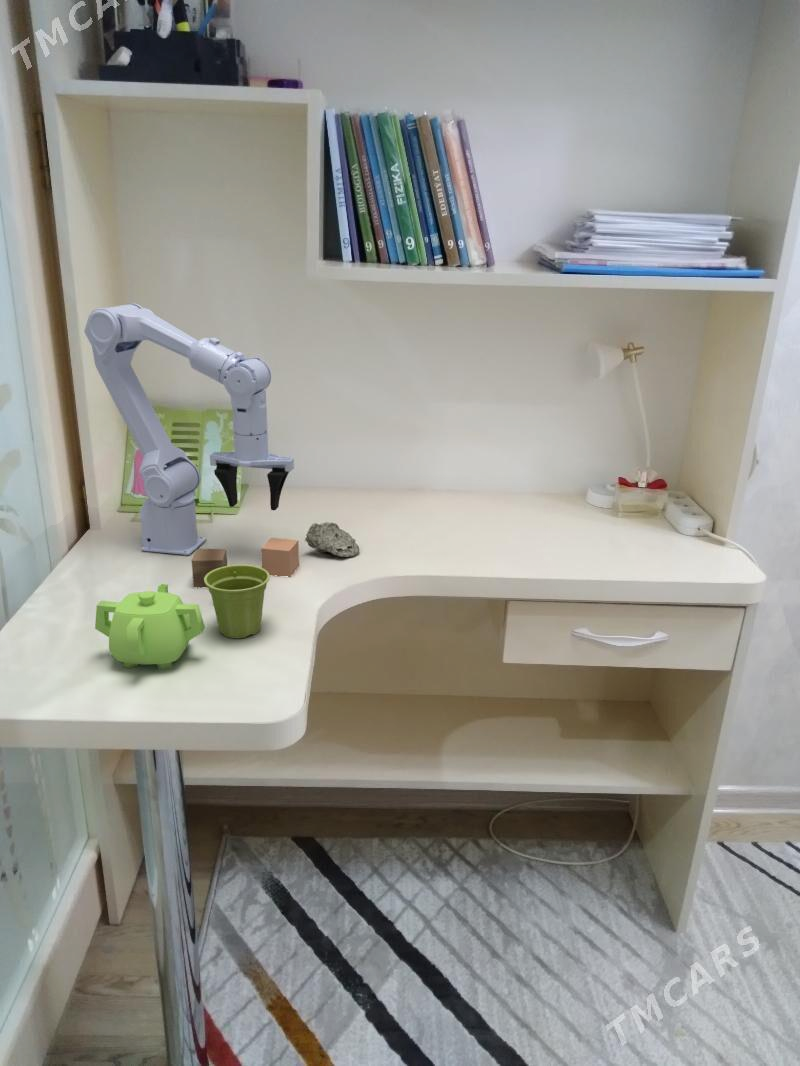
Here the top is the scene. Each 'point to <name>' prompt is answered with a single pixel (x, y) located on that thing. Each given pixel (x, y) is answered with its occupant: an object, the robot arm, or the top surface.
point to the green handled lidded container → (149, 627)
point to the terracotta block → (280, 556)
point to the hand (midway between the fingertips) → (254, 506)
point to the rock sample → (331, 540)
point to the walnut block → (206, 564)
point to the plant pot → (238, 598)
